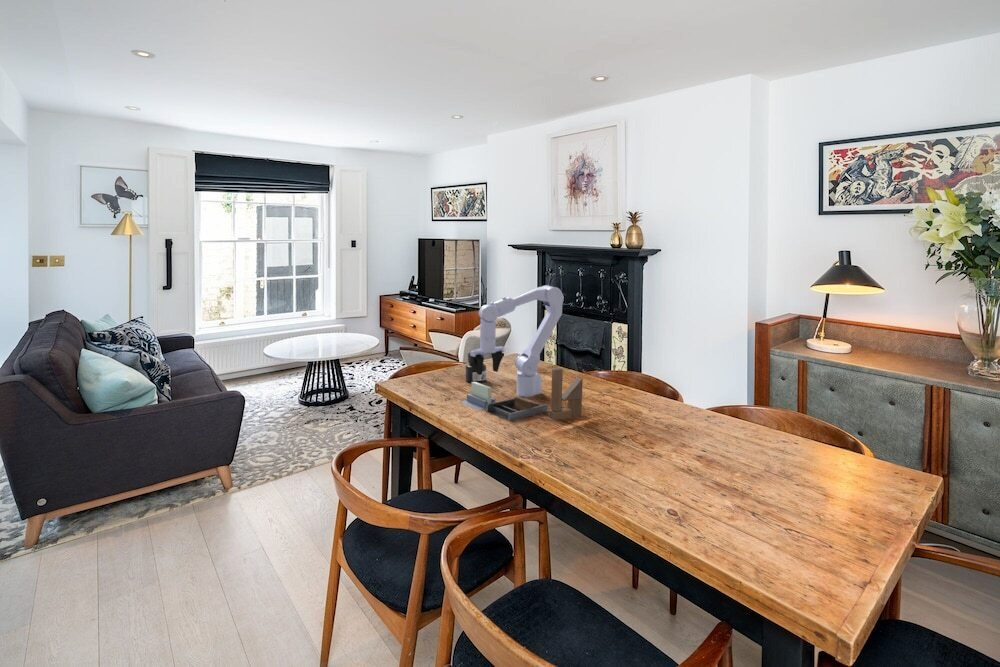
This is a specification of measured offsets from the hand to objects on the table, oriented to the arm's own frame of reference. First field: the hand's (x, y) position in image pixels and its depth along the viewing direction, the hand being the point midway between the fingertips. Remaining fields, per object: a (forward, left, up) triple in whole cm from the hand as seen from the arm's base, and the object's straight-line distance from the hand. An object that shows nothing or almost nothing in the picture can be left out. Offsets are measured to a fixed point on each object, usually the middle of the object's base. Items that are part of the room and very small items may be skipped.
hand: (487, 372), depth 200 cm
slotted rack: (+2, +20, -10) cm, 23 cm away
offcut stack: (-2, +20, -9) cm, 22 cm away
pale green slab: (+7, +5, -9) cm, 13 cm away
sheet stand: (+7, +5, -10) cm, 13 cm away
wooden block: (-7, +34, -11) cm, 36 cm away
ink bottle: (-12, -24, -11) cm, 29 cm away
